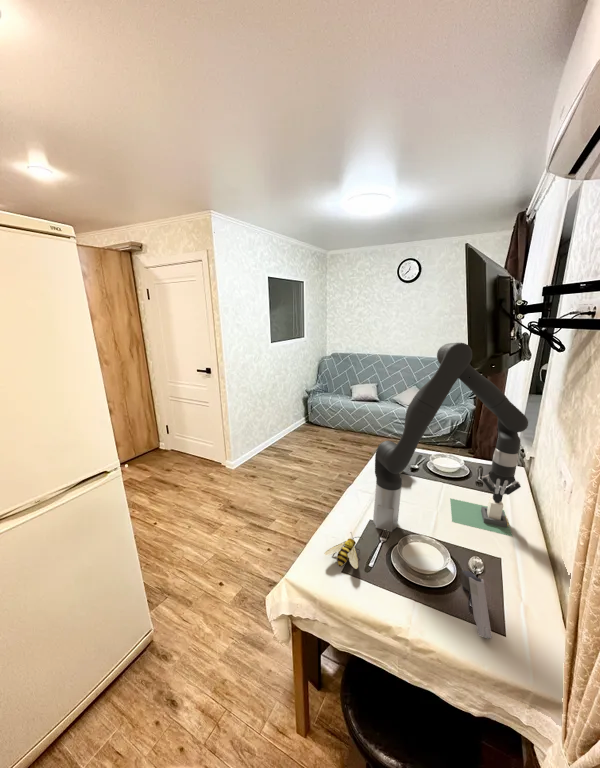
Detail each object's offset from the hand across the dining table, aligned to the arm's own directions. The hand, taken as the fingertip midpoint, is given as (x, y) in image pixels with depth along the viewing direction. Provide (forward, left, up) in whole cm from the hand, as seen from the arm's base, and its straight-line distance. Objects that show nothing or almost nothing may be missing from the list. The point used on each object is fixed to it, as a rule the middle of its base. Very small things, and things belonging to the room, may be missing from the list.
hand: (496, 501), depth 120 cm
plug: (0, 0, -8) cm, 8 cm away
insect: (-39, +48, -10) cm, 63 cm away
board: (0, +5, -9) cm, 10 cm away
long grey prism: (-44, +11, -10) cm, 46 cm away
